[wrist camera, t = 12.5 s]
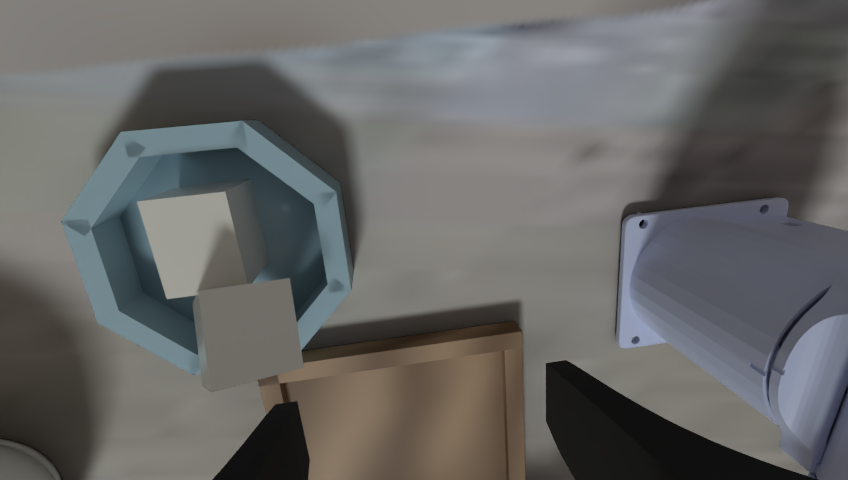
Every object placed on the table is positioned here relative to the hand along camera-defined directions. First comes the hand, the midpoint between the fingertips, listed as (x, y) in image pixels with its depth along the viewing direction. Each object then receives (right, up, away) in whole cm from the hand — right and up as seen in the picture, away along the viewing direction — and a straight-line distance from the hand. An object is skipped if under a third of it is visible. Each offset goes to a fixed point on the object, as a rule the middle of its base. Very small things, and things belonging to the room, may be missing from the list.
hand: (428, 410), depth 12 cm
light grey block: (-9, +6, +8) cm, 13 cm away
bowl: (-9, +5, +8) cm, 13 cm away
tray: (-1, -8, +13) cm, 15 cm away
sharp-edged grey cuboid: (-8, +3, +5) cm, 10 cm away
